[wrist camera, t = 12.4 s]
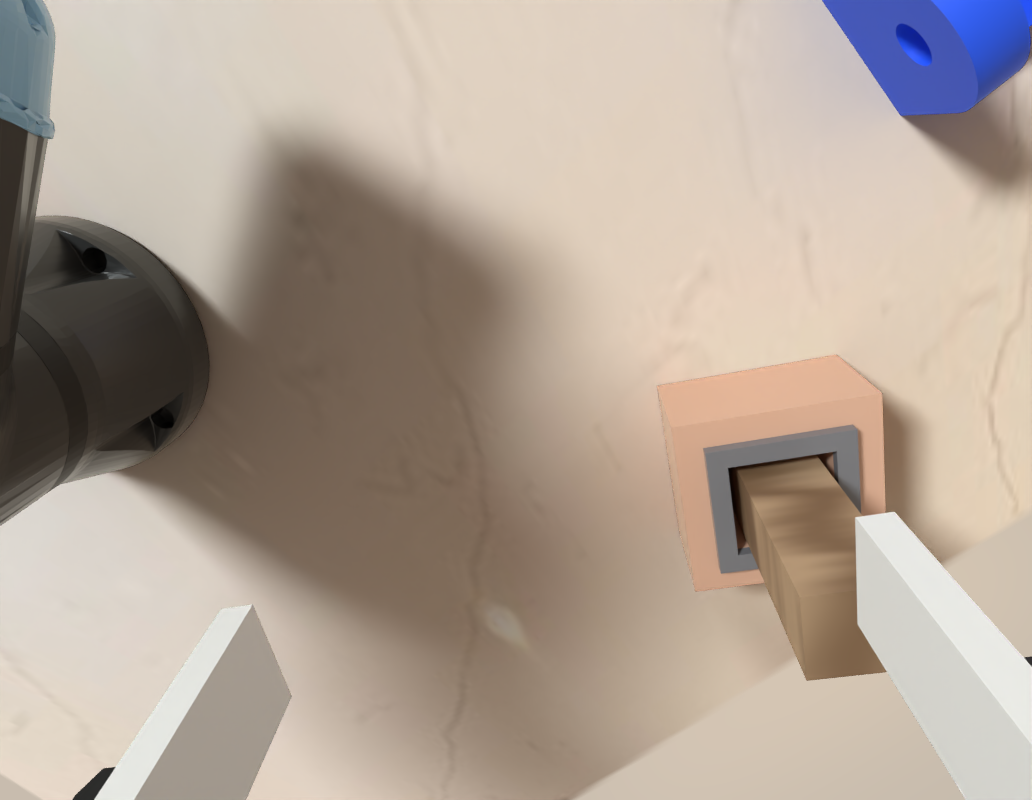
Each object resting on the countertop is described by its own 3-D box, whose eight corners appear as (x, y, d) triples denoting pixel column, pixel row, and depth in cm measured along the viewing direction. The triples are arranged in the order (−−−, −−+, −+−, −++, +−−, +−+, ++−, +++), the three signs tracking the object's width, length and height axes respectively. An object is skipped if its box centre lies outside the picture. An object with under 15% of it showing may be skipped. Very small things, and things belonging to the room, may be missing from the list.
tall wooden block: (729, 500, 40) (806, 680, 27) (722, 439, 38) (799, 597, 25) (800, 490, 39) (914, 668, 26) (795, 427, 38) (913, 583, 25)
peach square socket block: (679, 532, 43) (697, 598, 37) (656, 386, 40) (672, 432, 33) (844, 508, 42) (892, 573, 35) (836, 354, 38) (887, 397, 32)
